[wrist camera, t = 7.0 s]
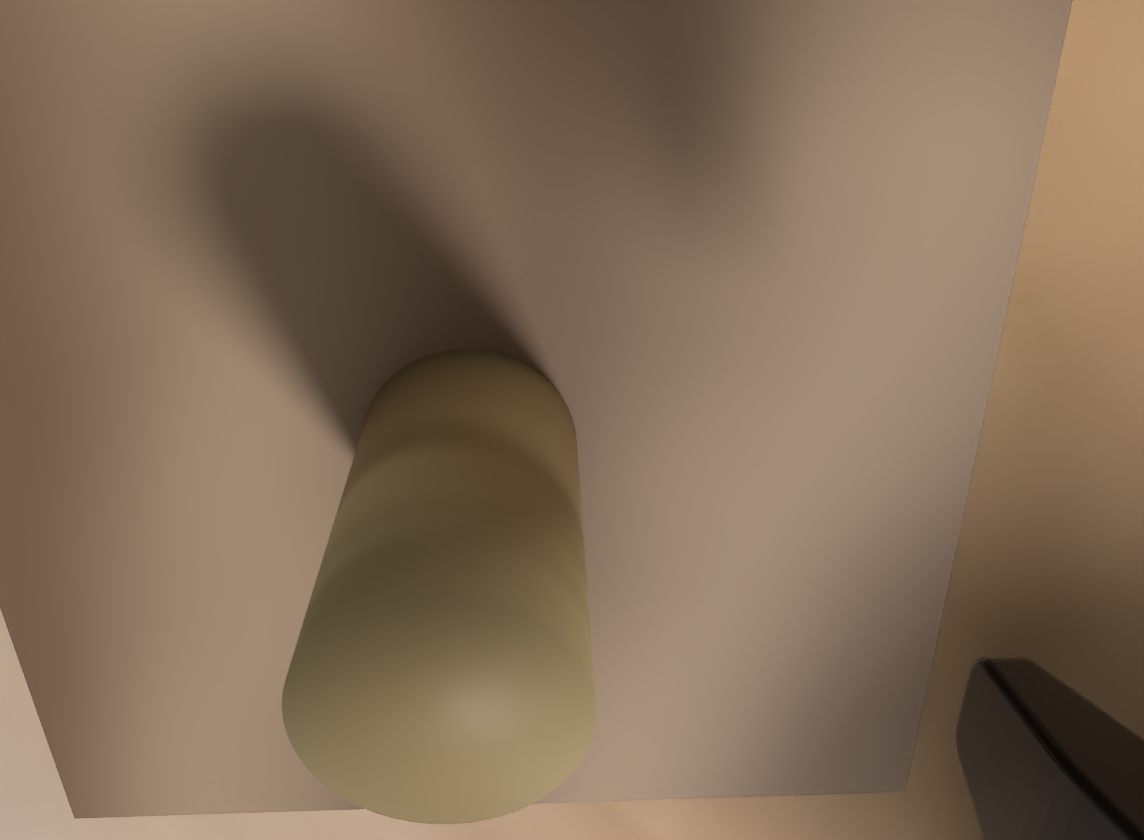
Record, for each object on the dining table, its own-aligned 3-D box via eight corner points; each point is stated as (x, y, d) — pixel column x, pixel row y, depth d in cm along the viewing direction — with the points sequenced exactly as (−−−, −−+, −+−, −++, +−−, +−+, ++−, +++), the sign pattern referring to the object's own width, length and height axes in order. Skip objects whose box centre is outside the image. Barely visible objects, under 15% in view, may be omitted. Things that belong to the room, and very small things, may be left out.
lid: (104, 757, 16) (-87, 1150, 11) (-182, -138, 10) (-865, -146, 5) (881, 732, 17) (1030, 1105, 12) (1047, -149, 11) (1510, -166, 6)
